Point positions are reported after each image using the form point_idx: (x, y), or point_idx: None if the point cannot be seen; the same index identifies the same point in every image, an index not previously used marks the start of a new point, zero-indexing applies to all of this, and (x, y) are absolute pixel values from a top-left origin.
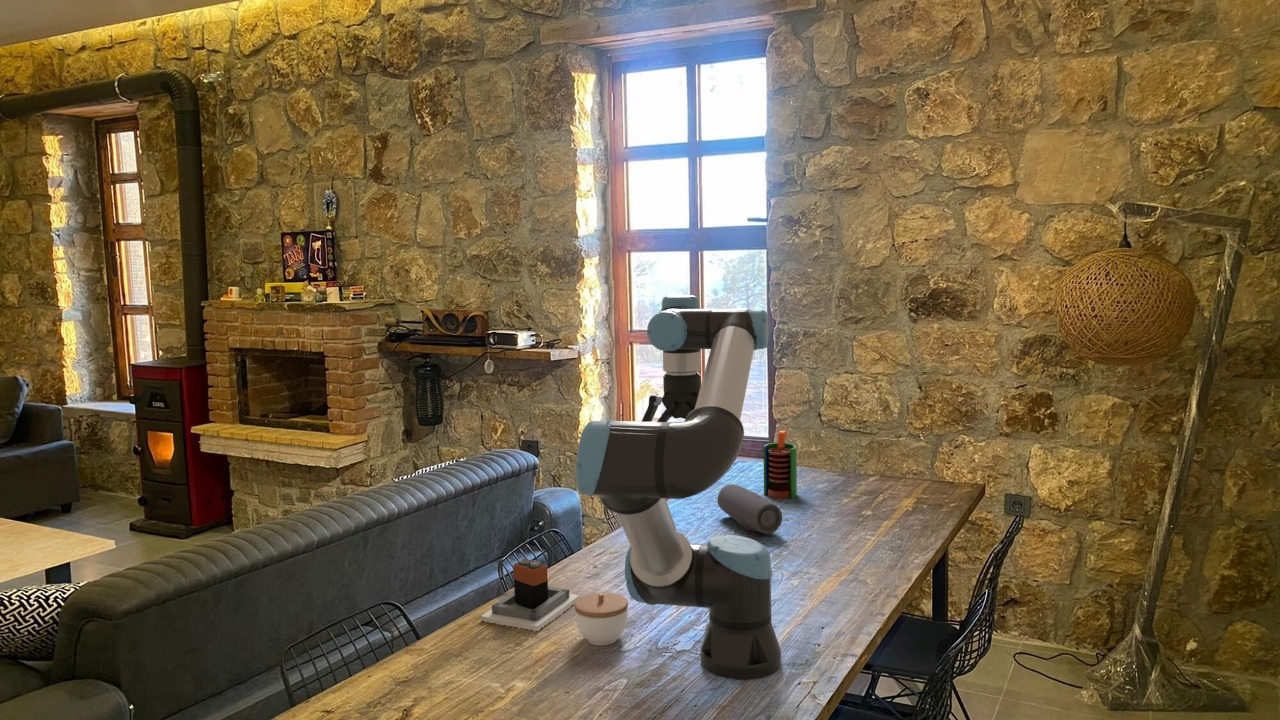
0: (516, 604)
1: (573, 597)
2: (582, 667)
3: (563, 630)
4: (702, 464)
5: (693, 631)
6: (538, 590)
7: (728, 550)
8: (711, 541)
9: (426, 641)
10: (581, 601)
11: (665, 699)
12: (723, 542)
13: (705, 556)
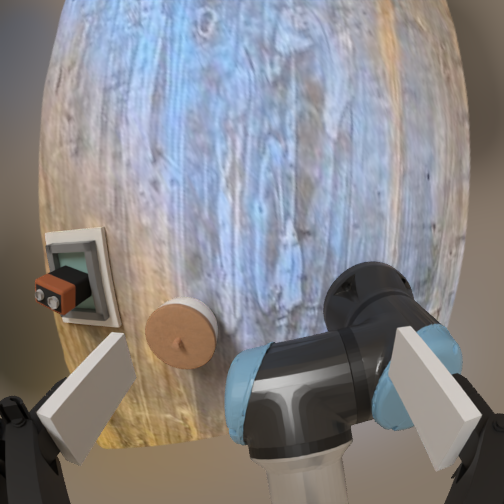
0: None
1: (98, 237)
2: (213, 377)
3: (140, 312)
4: None
5: (286, 253)
6: (79, 298)
7: (411, 424)
8: (382, 419)
9: (68, 366)
10: (156, 346)
11: None
12: (401, 407)
13: (369, 419)
